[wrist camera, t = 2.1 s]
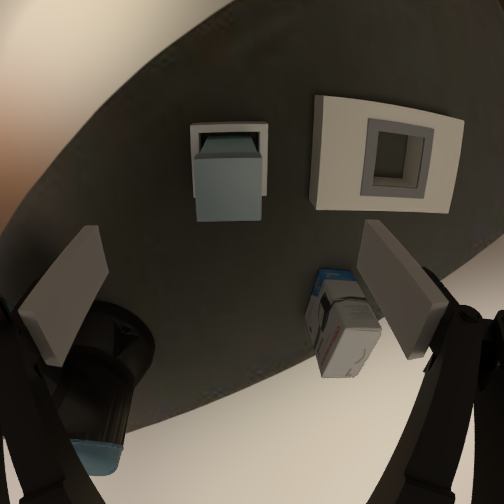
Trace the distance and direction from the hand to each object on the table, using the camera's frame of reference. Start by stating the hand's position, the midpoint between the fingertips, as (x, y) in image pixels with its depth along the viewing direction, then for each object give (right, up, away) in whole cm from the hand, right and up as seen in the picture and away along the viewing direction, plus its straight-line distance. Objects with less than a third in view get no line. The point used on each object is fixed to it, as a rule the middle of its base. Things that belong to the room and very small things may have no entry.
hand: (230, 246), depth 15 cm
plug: (-1, +10, +18) cm, 21 cm away
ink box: (+11, -6, +28) cm, 31 cm away
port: (+17, +11, +18) cm, 27 cm away
